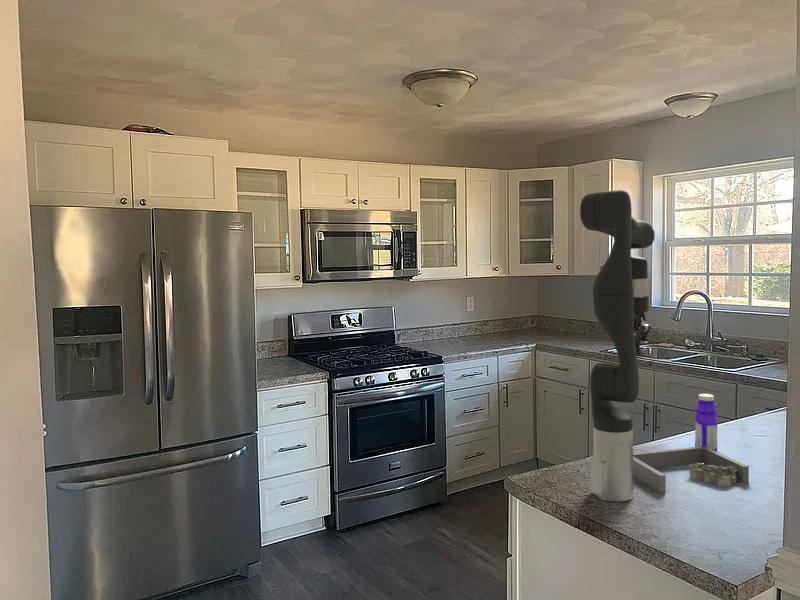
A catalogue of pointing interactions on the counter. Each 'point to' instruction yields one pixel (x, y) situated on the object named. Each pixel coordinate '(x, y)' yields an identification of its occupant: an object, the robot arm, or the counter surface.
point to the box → (676, 457)
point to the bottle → (706, 422)
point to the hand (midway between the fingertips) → (634, 355)
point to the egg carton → (714, 473)
